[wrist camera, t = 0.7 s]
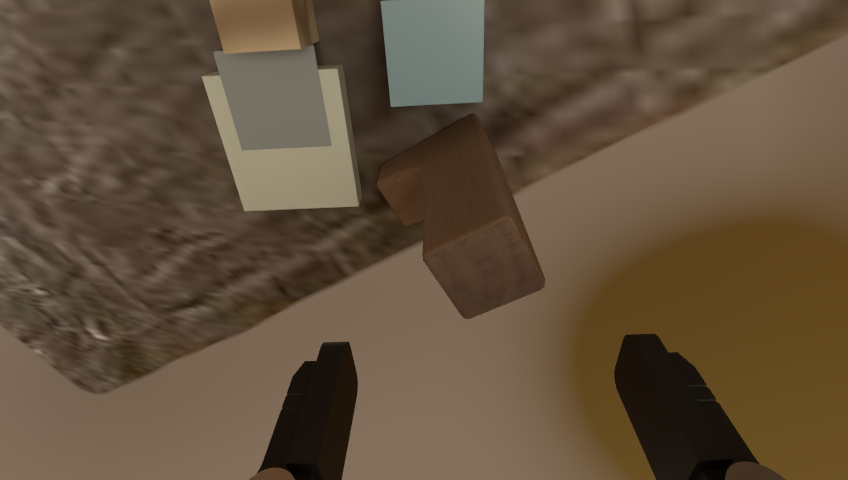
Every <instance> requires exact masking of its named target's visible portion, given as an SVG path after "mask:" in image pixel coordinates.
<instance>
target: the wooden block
mask: <svg viewBox="0 0 848 480" xmlns="http://www.w3.org/2000/svg"><path fill="white" fill-rule="evenodd" d="M377 187H378V189H379V190H380V192H381V193H382V195H383V196H384V197H385V199H386V200H387V202H388V203H389V205H390V206H391V208H392V209H393V211H394V212H395V214H396V215H397V217H398V218H399V219H400V221H401V222H402V224H403V225H404V226H409V225H411V224H414V223H416V222H419V221H421V220H424V235H423V261H424V262H425V264H426V265H427V266H428V268H429V269H430V271H431V272H432V273H433V275H434V277H435V278H436V279H437V281H438V282H439V283H440V285H441V286H442V288H443V289H444V291H445V292H446V294H447V295H448V297H449V298H450V300H451V301H452V303H453V304H454V305H455V307H456V308H457V310H458V311H459V313H460V314H461V315H462V317H464V318H465V319H470V318H473V317H475V316H478V315H480V314H482V313H485V312H487V311H490V310H492V309H495V308H497V307H500V306H502V305H505V304H507V303H509V302H512V301H514V300H517V299H519V298H522V297H524V296H527V295H529V294H531V293H534V292H536V291H539V290H541V289H542V288H543V287H544V285H545V278H544V275H543V273H542V270H541V267H540V265H539V262H538V260H537V257H536V255H535V252H534V250H533V247H532V244H531V242H530V239H529V237H528V234H527V232H526V229H525V226H524V224H523V221H522V218H521V216H520V213H519V211H518V208H517V206H516V203H515V200H514V198H513V195H512V192H511V190H510V187H509V185H508V182H507V180H506V177H505V175H504V172H503V169H502V167H501V164H500V161H499V159H498V156H497V154H496V152H495V150H494V148H493V146H492V144H491V142H490V140H489V138H488V136H487V134H486V132H485V130H484V128H483V126H482V124H481V122H480V120H479V118H478V116H476V115H475V114H470V115H469V116H467V117H465V118H463V119H461V120H460V121H458V122H456V123H454V124H453V125H451V126H449V127H447V128H445V129H444V130H442V131H440V132H438V133H437V134H435V135H433V136H431V137H429V138H428V139H426V140H424V141H422V142H420V143H419V144H417V145H415V146H413V147H412V148H410V149H408V150H406V151H405V152H403V153H401V154H399V155H397V156H396V157H394V158H392V159H390V160H389V161H387V162H385V163H384V164H383V165H382V167H381V170H380V173H379V177H378V180H377Z"/></svg>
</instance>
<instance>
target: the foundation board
mask: <svg viewBox="0 0 848 480" xmlns="http://www.w3.org/2000/svg"><path fill="white" fill-rule="evenodd" d="M213 54H214V57H215V61H216V64H217V68H218V71H219V72H213V73H210V74H207V75H204V76H202V79H203V82H204V85H205V88H206V91H207V95H208V98H209V101H210V104H211V107H212V110H213V114H214V117H215V120H216V123H217V126H218V129H219V132H220V136H221V139H222V142H223V145H224V148H225V151H226V155H227V158H228V161H229V164H230V167H231V170H232V173H233V177H234V180H235V183H236V186H237V189H238V192H239V196H240V199H241V202H242V205H243V208H244V211H259V210H283V209H307V208H331V207H355V206H359V204H360V201H361V198H362V191H361V185H360V178H359V171H358V164H357V158H356V151H355V144H354V137H353V130H352V124H351V117H350V110H349V103H348V97H347V90H346V83H345V76H344V70H343V64H341V65H324V66H317V60H316V55H315V49H314V45H309V46H307V47H304V48H302V49H293V50H277V51H261V52H244V53H228V54H224V51H213Z"/></svg>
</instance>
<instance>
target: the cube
mask: <svg viewBox="0 0 848 480" xmlns="http://www.w3.org/2000/svg"><path fill="white" fill-rule="evenodd" d="M381 10H382V21H383V31H384V41H385V52H386V62H387V73H388V83H389V93H390V104H391V107H398V106H417V105H436V104H454V103H473V102H483V53H484V0H386V1H381Z"/></svg>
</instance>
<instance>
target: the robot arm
mask: <svg viewBox="0 0 848 480" xmlns="http://www.w3.org/2000/svg"><path fill="white" fill-rule="evenodd" d="M614 376H615V384H616V388H617V391H618V393H619V396H620V398H621V400H622V402H623V405H624V407H625V409H626V411H627V414H628V416H629V418H630V421H631V423H632V425H633V428H634V430H635V432H636V434H637V437H638V439H639V441H640V444H641V446H642V448H643V450H644V453H645V455H646V457H647V459H648V462H649V464H650V466H651V469H652V471H653V473H654V476H655V478H656V480H785V479H784V478H783V477H782V476H781V475H779V474H778V473H776V472H775V471H773V470H771V469H769V468H767V467H765V466H763V465H760V464H759V462H758V461H757V460H756V459H755V457H754V456H753V454H752V453H751V451H750V450H749V448H748V447H747V445H746V444H745V442H744V441H743V439H742V438H741V436H740V435H739V433H738V432H737V430H736V429H735V427H734V426H733V424H732V423H731V421H730V420H729V418H728V416H727V415H726V414H725V412H724V411H723V409H722V407H721V406H720V404H719V403H717V402H716V398H715V397H714V395H713V394H712V392H711V391H710V389H709V388H707V387H706V383H705V382H704V380H703V379H702V377H701V376H700V374H699V373H698V371H697V370H696V368H695V367H694V366H693V365H692V364H690V363H689V362H688V361H687V360H686V359H685V358H683V357H682V356H681V355H680V354H679V353H678V352H677V353H676V352H674V353H668V351H667V350H666V348H665V347H664V345H663V343H662V342H661V340H660V339H659V337H658V336H657V335H655V334H631V335H625V337H624V339H623V342H622V346H621V349H620V352H619V356H618V359H617V363H616V367H615V372H614ZM357 387H358V380H357V373H356V368H355V364H354V360H353V356H352V351H351V347H350V344H349V342H329V343H328V342H326V343H323V344H322V346H321V348H320V351H319V355H318V358H317V361H305V362H304V363H303V364H302V366H301V367H300V368H299V370H298V371H297V372H296V373H295V374H294V376H293V377H292V381H291V383H290V386H289V389H288V392H287V396H286V398H285V400H284V403H283V406H282V410H281V412H280V415H279V418H278V420H277V423H276V426H275V429H274V432H273V435H272V438H271V441H270V443H269V446H268V449H267V452H266V455H265V458H264V461H263V463H262V465H261V467H260V469H259V471H258V472H257V474H256V475H254V476H253V477H251V478H250V479H249V480H341V479H342V474H343V468H344V463H345V458H346V452H347V447H348V441H349V436H350V430H351V425H352V420H353V414H354V408H355V403H356V397H357V389H358V388H357Z"/></svg>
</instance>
